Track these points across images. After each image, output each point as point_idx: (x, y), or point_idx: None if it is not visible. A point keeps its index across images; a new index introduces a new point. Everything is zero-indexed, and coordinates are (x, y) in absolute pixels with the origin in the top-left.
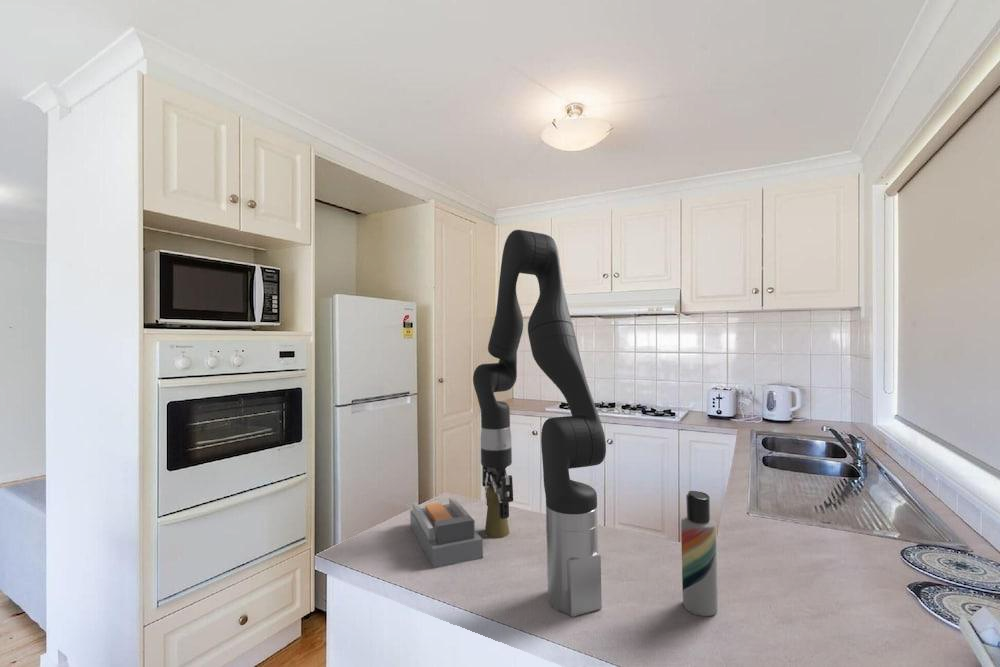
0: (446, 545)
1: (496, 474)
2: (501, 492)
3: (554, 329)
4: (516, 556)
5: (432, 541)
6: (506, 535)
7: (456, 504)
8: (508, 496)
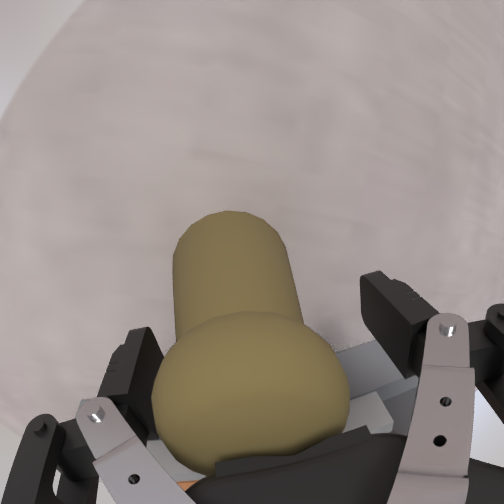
0: None
1: None
2: (500, 415)
3: None
4: (441, 225)
5: None
6: (275, 231)
7: (182, 479)
8: (467, 345)
